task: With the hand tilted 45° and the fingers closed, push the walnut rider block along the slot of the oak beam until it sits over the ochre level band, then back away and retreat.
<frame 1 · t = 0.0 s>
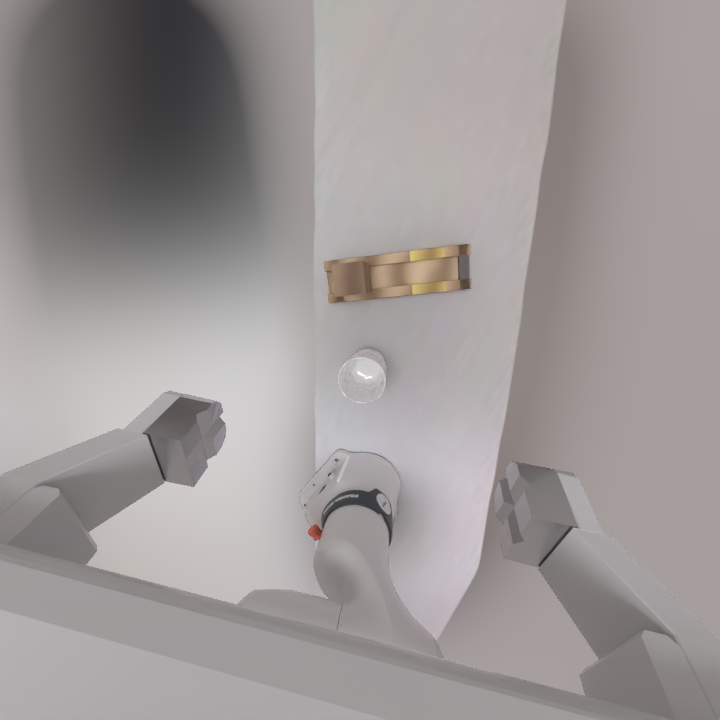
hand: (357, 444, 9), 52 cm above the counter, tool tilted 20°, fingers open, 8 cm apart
white cup: (368, 365, 63), on the counter
beam: (396, 275, 58), on the counter
rider: (354, 279, 52), point 8 cm above the counter, slide at 0.0 cm
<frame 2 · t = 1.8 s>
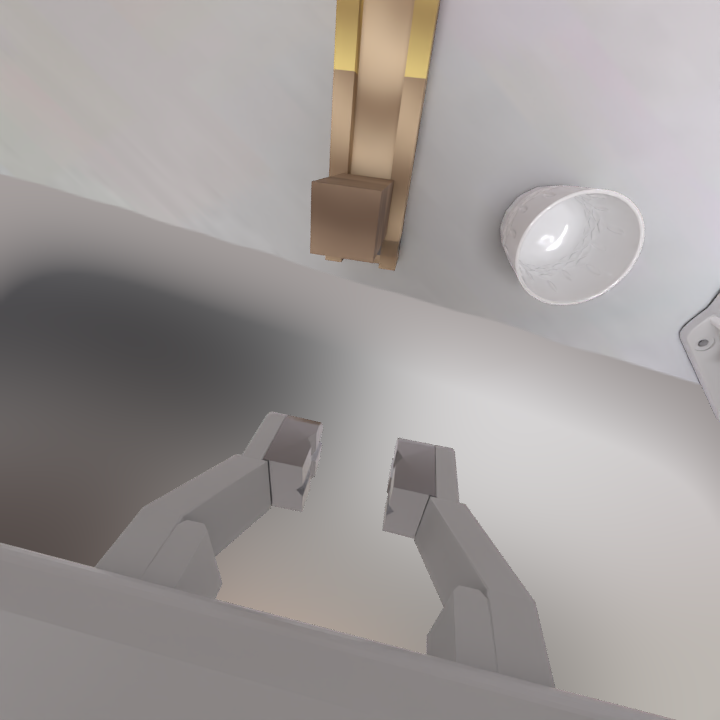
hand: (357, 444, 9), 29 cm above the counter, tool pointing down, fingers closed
white cup: (536, 224, 31), on the counter
beam: (380, 118, 29), on the counter
rider: (357, 211, 26), point 8 cm above the counter, slide at 0.0 cm
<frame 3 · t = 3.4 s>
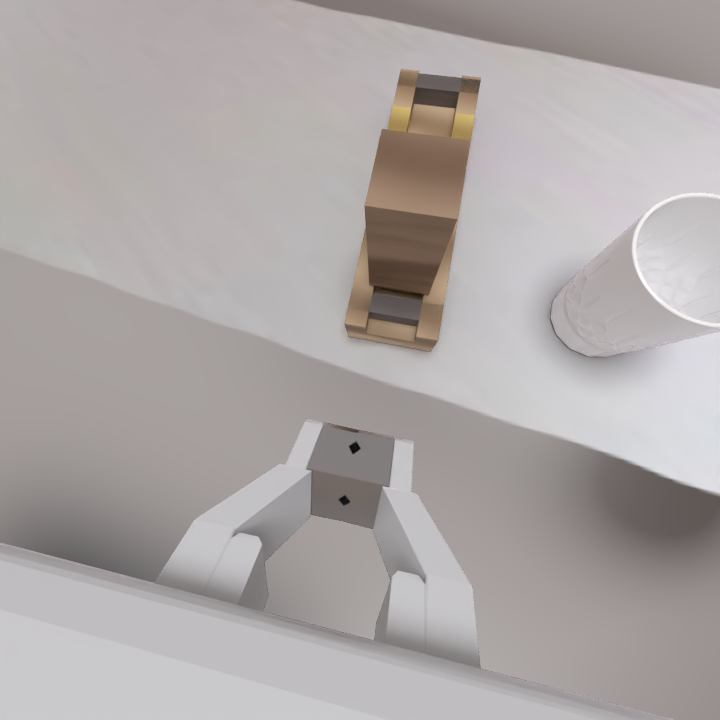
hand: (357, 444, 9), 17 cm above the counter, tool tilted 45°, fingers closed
white cup: (589, 319, 27), on the counter
beam: (413, 218, 30), on the counter
rider: (408, 233, 21), point 8 cm above the counter, slide at 0.0 cm
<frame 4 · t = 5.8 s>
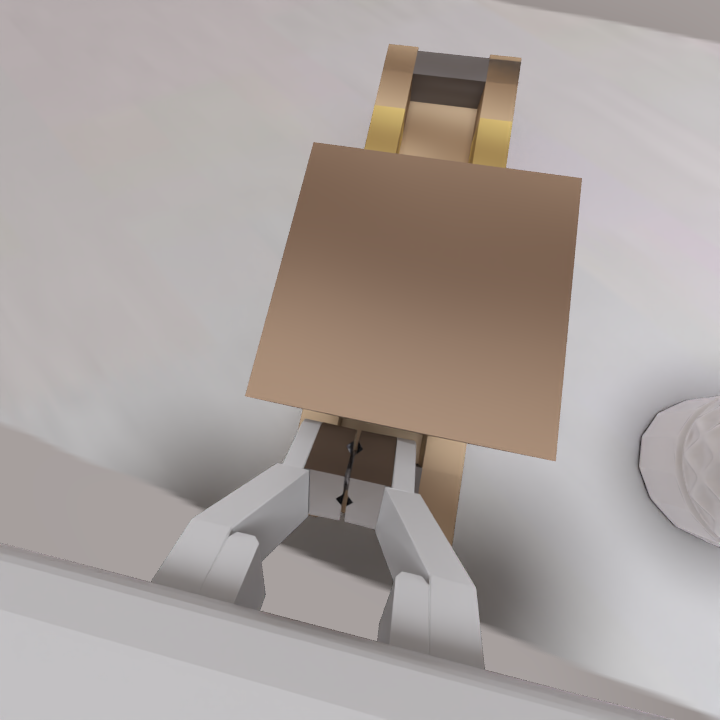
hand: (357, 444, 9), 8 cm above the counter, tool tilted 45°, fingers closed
white cup: (705, 468, 16), on the counter
beam: (408, 286, 19), on the counter
rider: (398, 354, 10), point 8 cm above the counter, slide at 0.8 cm, touching gripper
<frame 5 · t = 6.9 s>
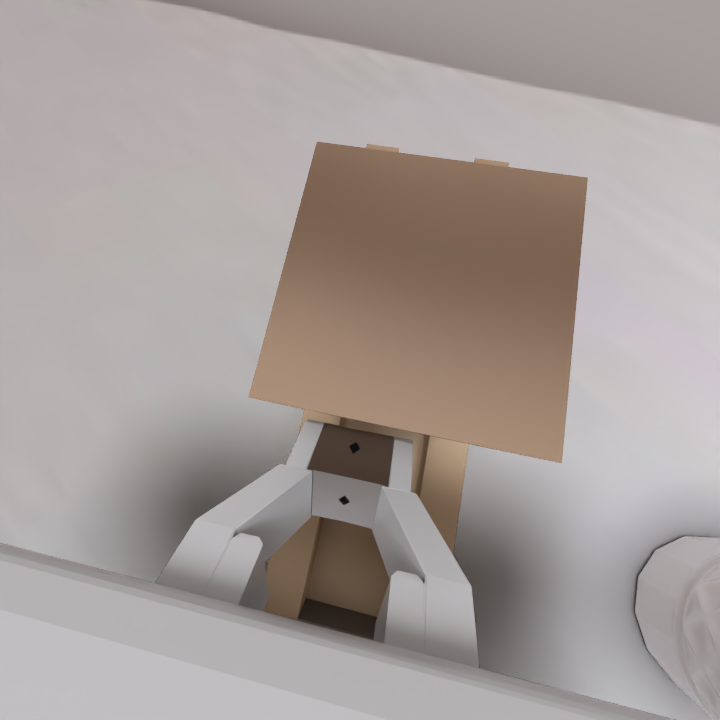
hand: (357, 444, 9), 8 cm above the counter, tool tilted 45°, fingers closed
white cup: (706, 612, 15), on the counter
beam: (388, 397, 17), on the counter
rider: (401, 354, 10), point 8 cm above the counter, slide at 7.3 cm, touching gripper
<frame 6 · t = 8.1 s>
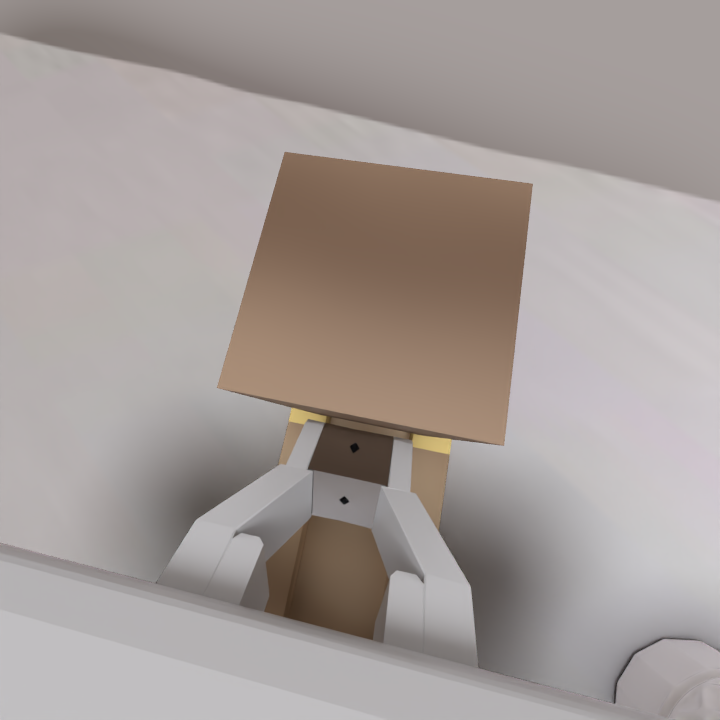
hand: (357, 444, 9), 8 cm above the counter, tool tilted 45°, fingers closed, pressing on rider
beam: (360, 484, 17), on the counter
rider: (379, 353, 11), point 8 cm above the counter, slide at 11.8 cm, touching gripper
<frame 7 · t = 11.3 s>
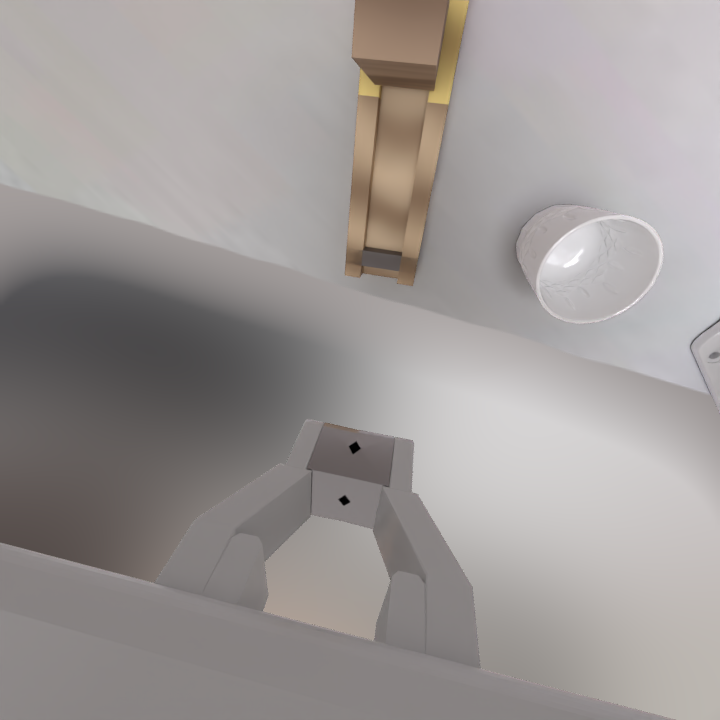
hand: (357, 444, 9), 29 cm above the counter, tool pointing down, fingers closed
white cup: (552, 241, 32), on the counter
beam: (400, 139, 30), on the counter
rider: (406, 31, 20), point 8 cm above the counter, slide at 11.9 cm
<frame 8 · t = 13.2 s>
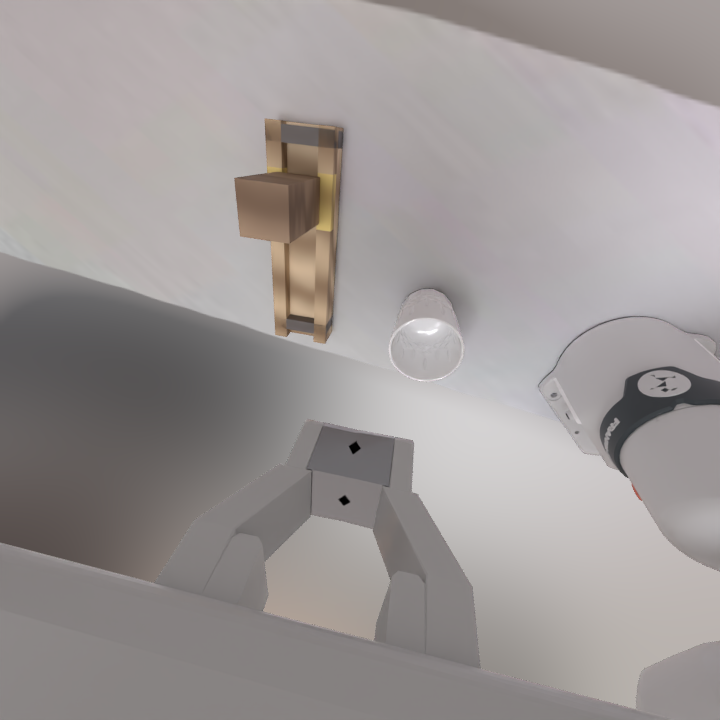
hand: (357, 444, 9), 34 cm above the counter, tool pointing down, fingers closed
white cup: (426, 312, 43), on the counter
beam: (309, 242, 41), on the counter
rider: (285, 203, 32), point 8 cm above the counter, slide at 11.9 cm
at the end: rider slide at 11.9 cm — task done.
